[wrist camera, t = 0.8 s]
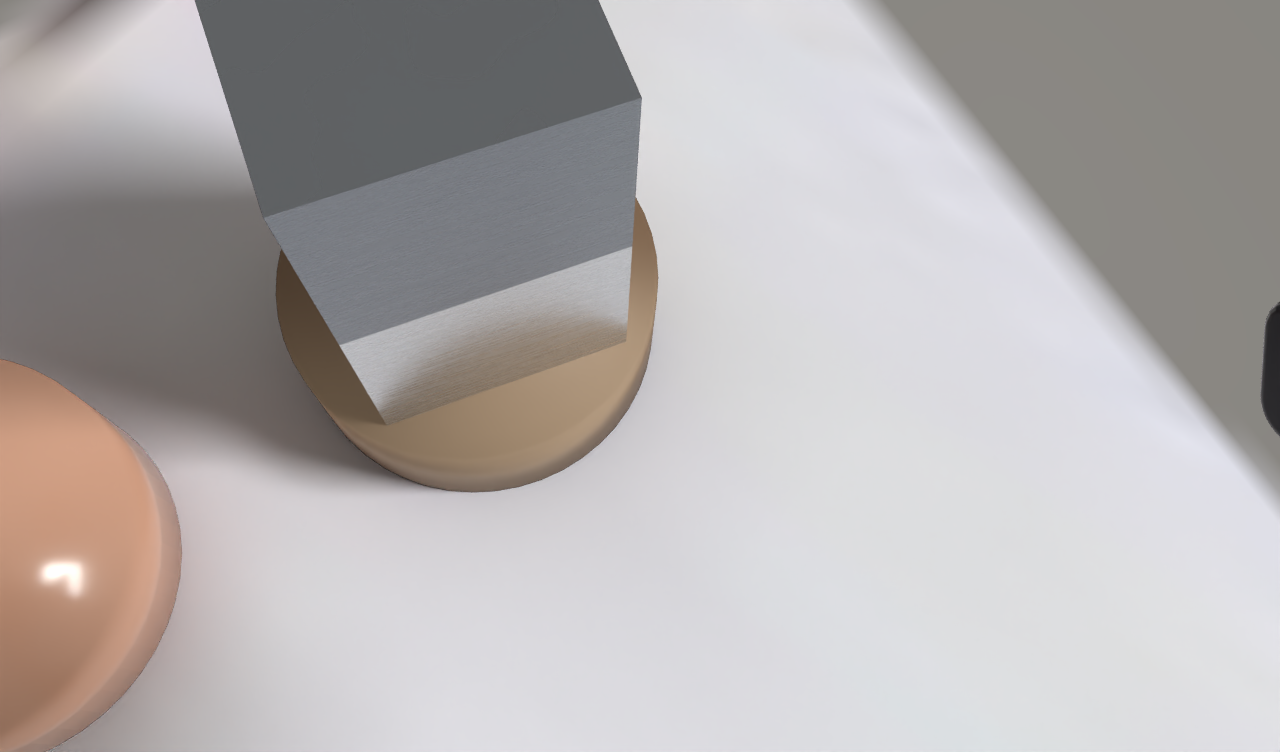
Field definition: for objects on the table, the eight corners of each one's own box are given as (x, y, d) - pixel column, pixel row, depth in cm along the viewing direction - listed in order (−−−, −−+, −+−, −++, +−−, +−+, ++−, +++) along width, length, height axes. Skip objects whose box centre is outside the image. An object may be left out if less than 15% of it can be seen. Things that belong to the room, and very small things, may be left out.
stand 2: (673, 470, 23) (682, 434, 21) (314, 511, 22) (280, 480, 20) (629, 158, 25) (633, 94, 23) (302, 189, 25) (271, 127, 22)
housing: (626, 341, 21) (641, 97, 14) (387, 425, 20) (263, 217, 13) (542, 137, 22) (514, -189, 15) (315, 209, 22) (165, -93, 14)
